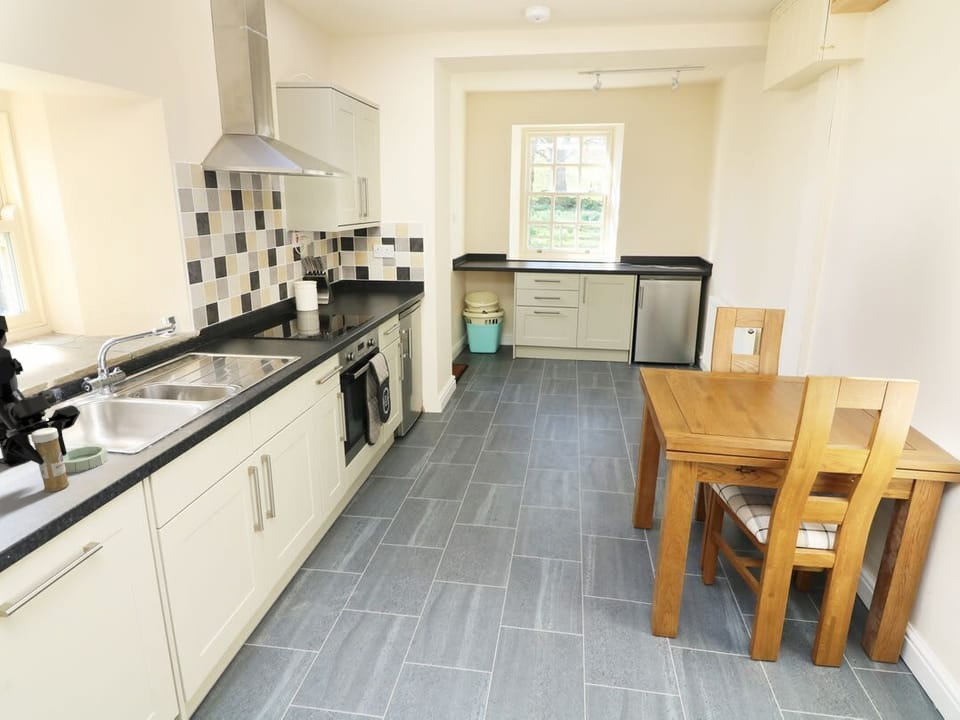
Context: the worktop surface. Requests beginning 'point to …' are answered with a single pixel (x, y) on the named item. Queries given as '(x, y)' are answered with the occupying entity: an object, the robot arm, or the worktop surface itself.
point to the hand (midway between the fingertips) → (54, 458)
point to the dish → (85, 457)
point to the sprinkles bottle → (50, 459)
